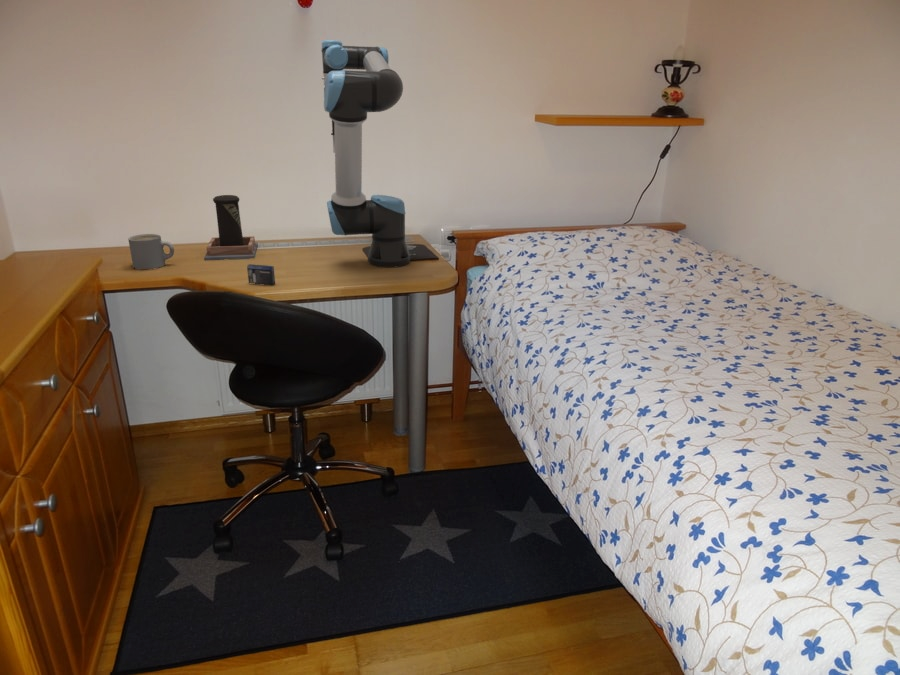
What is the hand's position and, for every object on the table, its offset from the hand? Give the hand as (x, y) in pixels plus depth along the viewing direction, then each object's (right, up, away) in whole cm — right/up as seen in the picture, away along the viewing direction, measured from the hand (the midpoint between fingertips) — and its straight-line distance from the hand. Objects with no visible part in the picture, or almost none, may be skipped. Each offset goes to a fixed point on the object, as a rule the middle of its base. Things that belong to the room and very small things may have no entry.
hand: (337, 152), depth 238 cm
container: (-38, -39, -8) cm, 55 cm away
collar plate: (-38, -40, -8) cm, 55 cm away
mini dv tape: (-16, -55, -42) cm, 71 cm away
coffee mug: (-58, -47, -26) cm, 79 cm away
